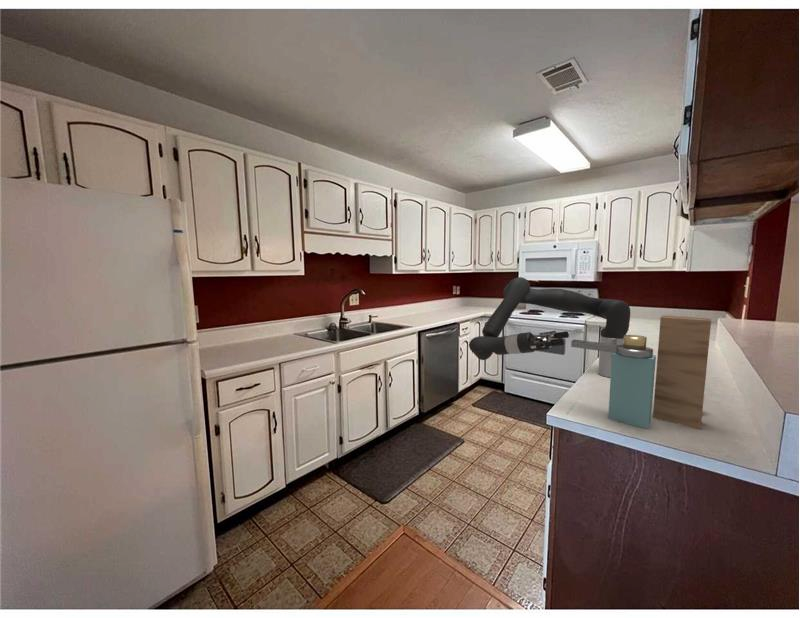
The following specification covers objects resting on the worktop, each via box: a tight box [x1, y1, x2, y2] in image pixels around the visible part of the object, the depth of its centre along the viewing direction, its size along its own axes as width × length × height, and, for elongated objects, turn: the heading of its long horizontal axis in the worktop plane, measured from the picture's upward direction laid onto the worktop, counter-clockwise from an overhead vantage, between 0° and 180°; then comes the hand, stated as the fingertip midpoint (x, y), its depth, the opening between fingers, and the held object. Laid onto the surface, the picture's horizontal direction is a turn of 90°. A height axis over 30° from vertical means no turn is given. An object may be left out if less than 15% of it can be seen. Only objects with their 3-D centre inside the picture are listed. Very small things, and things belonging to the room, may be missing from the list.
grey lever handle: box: [570, 334, 654, 359], centre depth 100 cm, size 9×22×6 cm, turn 45°
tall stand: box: [652, 314, 712, 430], centre depth 97 cm, size 6×11×32 cm, turn 45°
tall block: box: [607, 353, 657, 430], centre depth 98 cm, size 6×10×21 cm, turn 45°
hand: (565, 337), depth 111 cm, fingers open, 8 cm apart
